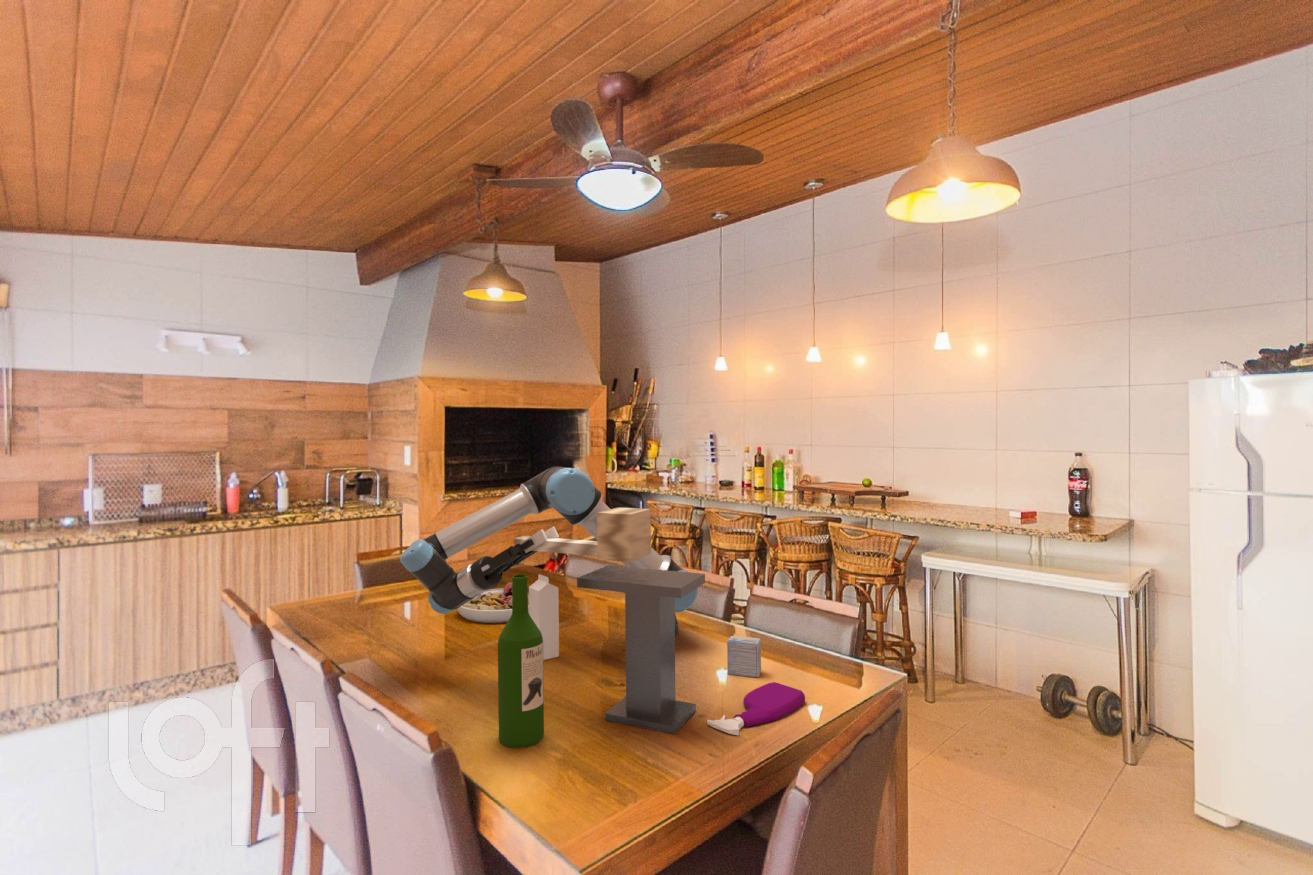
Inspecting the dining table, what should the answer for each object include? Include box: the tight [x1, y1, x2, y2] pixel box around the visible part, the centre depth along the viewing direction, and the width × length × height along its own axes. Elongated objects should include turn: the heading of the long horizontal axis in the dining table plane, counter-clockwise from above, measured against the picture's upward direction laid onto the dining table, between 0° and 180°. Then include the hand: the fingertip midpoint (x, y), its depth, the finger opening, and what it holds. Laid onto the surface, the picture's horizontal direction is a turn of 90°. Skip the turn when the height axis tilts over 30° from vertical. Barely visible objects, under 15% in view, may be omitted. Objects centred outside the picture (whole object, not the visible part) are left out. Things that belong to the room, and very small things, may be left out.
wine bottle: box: [497, 574, 545, 749], centre depth 130 cm, size 9×9×32 cm
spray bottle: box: [706, 681, 806, 736], centre depth 141 cm, size 3×11×24 cm
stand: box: [576, 564, 706, 735], centre depth 141 cm, size 24×14×30 cm, turn 66°
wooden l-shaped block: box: [513, 507, 652, 562], centre depth 147 cm, size 32×10×10 cm, turn 66°
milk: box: [528, 573, 560, 661], centre depth 177 cm, size 6×6×22 cm
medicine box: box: [726, 635, 762, 678], centre depth 164 cm, size 8×4×9 cm, turn 71°
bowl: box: [456, 581, 530, 624], centre depth 221 cm, size 30×30×8 cm
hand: (550, 533), depth 150 cm, fingers closed on wooden l-shaped block, 4 cm apart
